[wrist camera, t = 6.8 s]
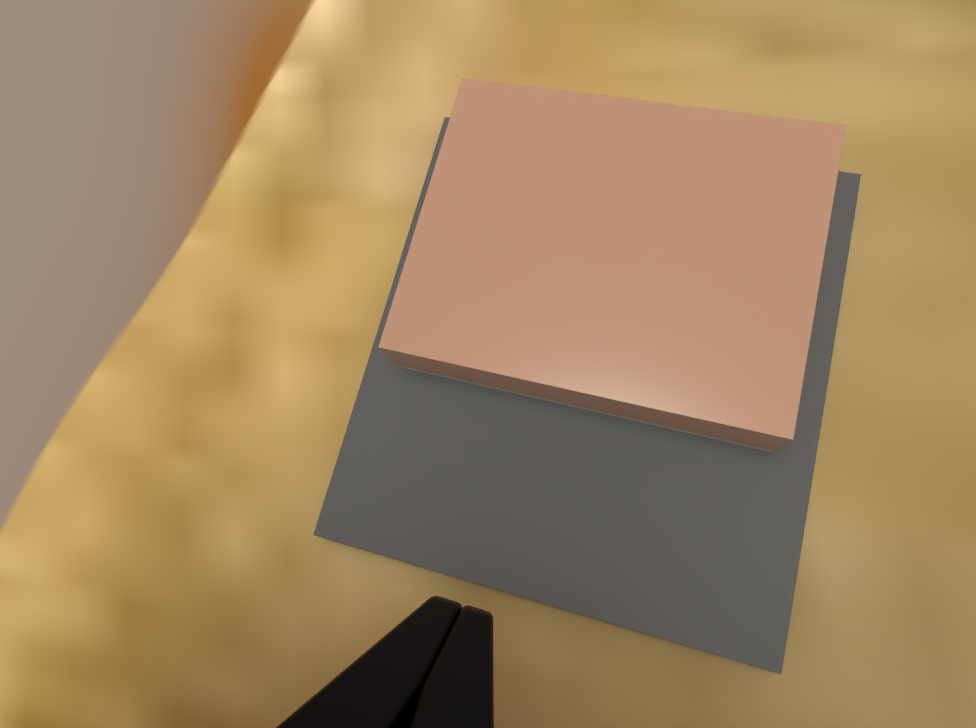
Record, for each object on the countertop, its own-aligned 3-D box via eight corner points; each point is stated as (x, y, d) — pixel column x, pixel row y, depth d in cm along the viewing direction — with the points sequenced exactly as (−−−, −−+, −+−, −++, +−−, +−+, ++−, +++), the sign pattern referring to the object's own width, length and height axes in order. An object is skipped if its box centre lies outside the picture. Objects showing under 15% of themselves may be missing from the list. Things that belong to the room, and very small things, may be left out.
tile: (793, 439, 15) (846, 125, 17) (378, 347, 17) (462, 78, 19) (772, 452, 17) (821, 168, 19) (400, 367, 19) (475, 121, 21)
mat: (774, 669, 16) (781, 674, 16) (322, 535, 19) (313, 534, 18) (853, 185, 19) (860, 174, 18) (449, 128, 22) (445, 117, 21)
